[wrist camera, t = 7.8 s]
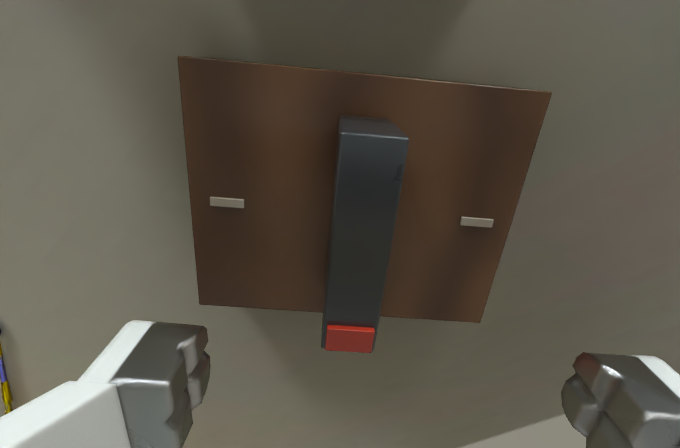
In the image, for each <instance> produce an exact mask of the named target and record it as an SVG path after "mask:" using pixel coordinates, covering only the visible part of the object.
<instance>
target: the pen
mask: <svg viewBox="0 0 680 448" xmlns="http://www.w3.org/2000/svg"><path fill="white" fill-rule="evenodd" d="M0 334H1V329H0ZM0 378H1V392H2V400H3V403H4V404H5V410H6V412H5V415H6V414H8V413H10V412H11V411H13V410H12V404H11V403H12V401H13V399H12V394H11V390H10V386H9V383H8V380H7V375H6V369H5V364H4V359H3V353H2V348H1V343H0Z"/></svg>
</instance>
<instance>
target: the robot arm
mask: <svg viewBox="0 0 680 448" xmlns="http://www.w3.org/2000/svg"><path fill="white" fill-rule="evenodd" d="M207 343H208V334H207V328H205V327H204V326H198V325H188V324H177V323H166V322H150V321H140V320H132V321H130V322H128V323H126V324H125V325H124V327H123V328H122V329H121V330H120V331H119V332H118V334H117V335H116V336H115V337H114V338H113V339H112V341H111V342H110V343H109V344H108V345H107V346H106V348H105V349H104V350H103V351H102V352H101V353H100V355H99V356H98V357H97V358H96V359H95V360H94V362H93V363H92V364H91V365H90V366H89V368H88V369H87V370H86V371H85V372H84V373H83V375H82V376H81V377H80V378H79V379H78V380H77V381H67V382H65V383H64V384H62V385H60V386H58V387H56V388H54V389H52V390H51V391H49V392H47V393H45V394H43V395H41V396H39V397H37V398H36V399H34V400H32V401H30V402H28V403H26V404H24V405H23V406H21V407H19V408H17V409H15V410H13V411H11V412H10V413H8V414H6V415H4V416H2V417H0V448H182V447H183V445H184V443H185V440H186V438H187V436H188V433H189V431H190V429H191V426H192V424H193V419H192V410H193V409H194V408H196V407H197V406H198V405H200V404H201V403H202V400H203V398H204V395H205V393H206V390H207V386H208V382H209V377H210V366H211V365H210V356H209V355H208V354H207V353H206V352H205V351H204V349H205V347H206V345H207ZM573 368H574V370H575V372H576V374H575V375H573V376H572V377H570V378H569V379H568V380H566V381H565V384H564V386H563V389H562V391H561V397H562V406H563V409H564V412H565V415H566V417H567V418H568V420H569V422H570V423H571V425H572V426H573V428H575V429H576V430H578V431H579V432H580V433H581V434H582V435H584V436H585V437H586V448H680V375H679V374H678V373H677V372H675V371H674V370H673V369H672V368H671V367H670V366H669V365H668V364H667V363H666V362H664V361H663V360H661V359H659V358H657V357H655V356H642V355H617V354H601V353H585V352H583V353H582V354H580V355H579V356H578V357H577V358H576V360H575V362H574V364H573Z"/></svg>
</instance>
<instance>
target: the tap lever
mask: <svg viewBox="0 0 680 448" xmlns="http://www.w3.org/2000/svg"><path fill="white" fill-rule="evenodd" d="M408 146H409V138H408V137H407V136H406V135H405V134H404V133H403V132H402V131H401V130H400V129H399V128H398V127H397V126H396V125H395V124H394V123H393V122H392V121H391V120H390V119H384V118H373V117H363V116H352V115H340V116H339V123H338V134H337V146H336V157H335V169H334V180H333V192H332V203H331V215H330V226H329V238H328V249H327V260H326V272H325V283H324V299H323V318H322V337H321V347H322V348H323V349H325V350H330V351H346V352H362V353H371V352H372V351H373V350H374V346H375V341H376V335H377V329H378V323H379V317H380V311H381V305H382V299H383V293H384V287H385V282H386V276H387V270H388V264H389V258H390V252H391V246H392V240H393V234H394V229H395V223H396V217H397V211H398V205H399V199H400V193H401V187H402V181H403V176H404V170H405V164H406V158H407V152H408Z"/></svg>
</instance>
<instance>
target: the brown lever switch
mask: <svg viewBox="0 0 680 448" xmlns="http://www.w3.org/2000/svg"><path fill="white" fill-rule="evenodd" d="M178 68H179V79H180V90H181V102H182V113H183V124H184V135H185V147H186V158H187V169H188V181H189V192H190V203H191V214H192V226H193V237H194V248H195V260H196V271H197V282H198V293H199V304H200V305H215V306H230V307H246V308H261V309H276V310H292V311H307V312H322V313H323V299H324V283H325V272H326V260H327V249H328V238H329V226H330V215H331V203H332V192H333V180H334V169H335V157H336V146H337V134H338V123H339V116H340V115H352V116H363V117H373V118H384V119H390V120H391V121H392V122H393V123H394V124H395V125H396V126H397V127H398V128H399V129H400V130H401V131H402V132H403V133H404V134H405V135H406V136H407V137H408V138H409V146H408V152H407V158H406V164H405V170H404V176H403V181H402V187H401V193H400V199H399V205H398V211H397V217H396V223H395V229H394V234H393V240H392V246H391V252H390V258H389V264H388V270H387V276H386V282H385V287H384V293H383V299H382V305H381V311H380V316H383V317H398V318H414V319H429V320H444V321H460V322H475V323H480V321H481V318H482V315H483V312H484V309H485V305H486V302H487V299H488V296H489V293H490V289H491V286H492V283H493V280H494V277H495V273H496V270H497V267H498V264H499V261H500V257H501V254H502V251H503V248H504V245H505V241H506V238H507V235H508V232H509V229H510V225H511V222H512V219H513V216H514V213H515V209H516V206H517V203H518V200H519V197H520V193H521V190H522V187H523V184H524V181H525V177H526V174H527V171H528V168H529V165H530V162H531V158H532V155H533V152H534V149H535V146H536V142H537V139H538V136H539V133H540V130H541V126H542V123H543V120H544V117H545V114H546V110H547V107H548V104H549V101H550V98H551V94H552V92H548V91H540V90H531V89H523V88H514V87H504V86H494V85H483V84H473V83H463V82H452V81H442V80H432V79H422V78H411V77H401V76H391V75H380V74H370V73H360V72H349V71H339V70H329V69H318V68H308V67H298V66H287V65H277V64H267V63H256V62H246V61H236V60H225V59H215V58H204V57H189V56H178Z"/></svg>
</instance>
